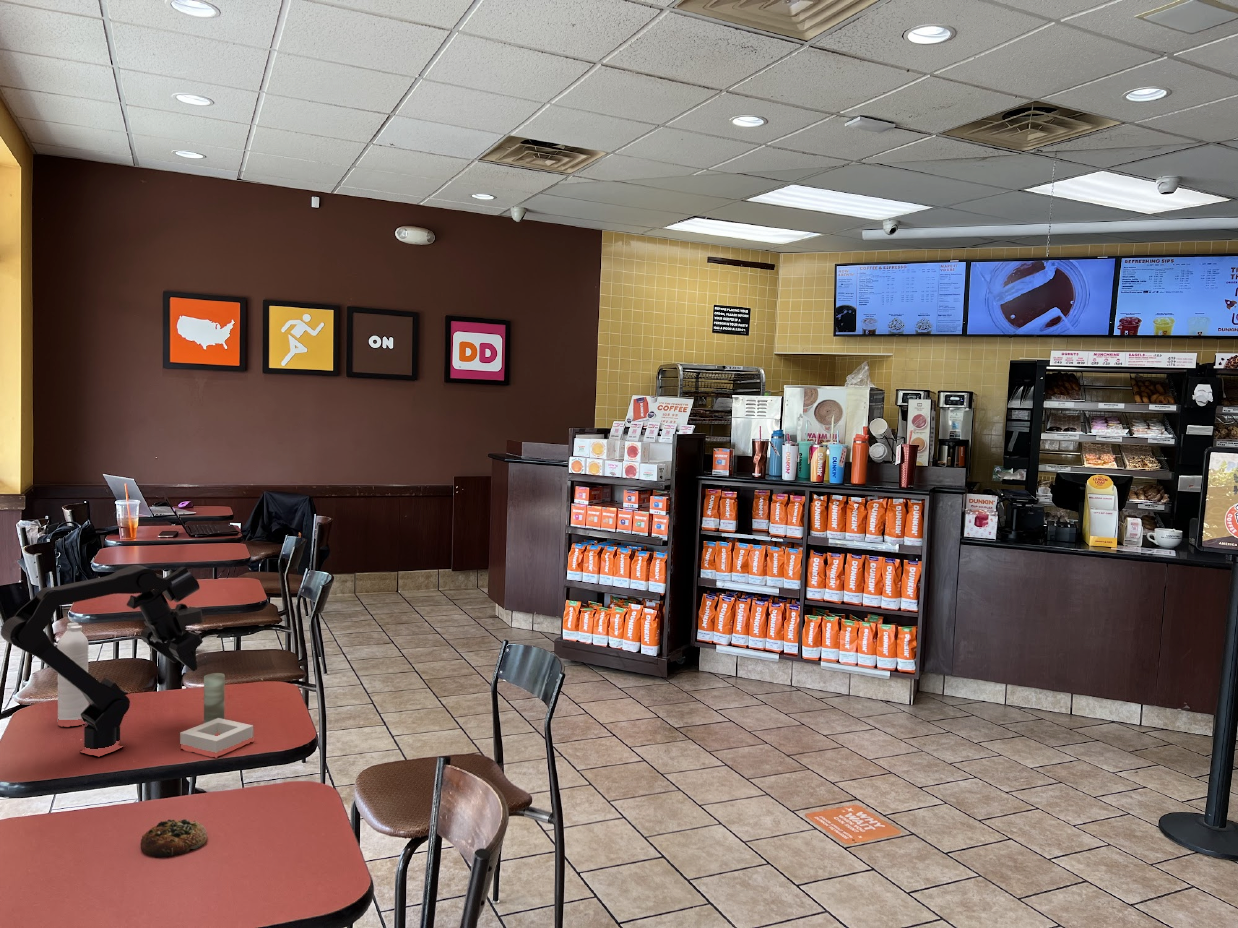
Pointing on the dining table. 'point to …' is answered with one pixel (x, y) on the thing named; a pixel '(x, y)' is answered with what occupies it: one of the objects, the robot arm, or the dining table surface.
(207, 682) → the green peg
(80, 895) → the dining table surface
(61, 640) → the water bottle
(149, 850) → the bread roll
